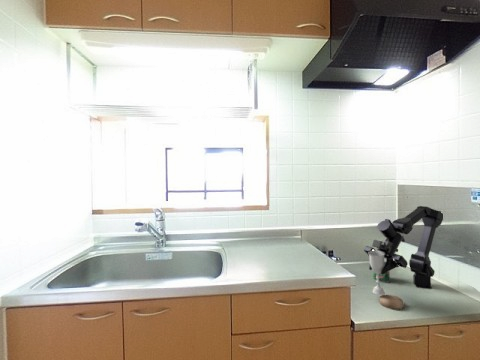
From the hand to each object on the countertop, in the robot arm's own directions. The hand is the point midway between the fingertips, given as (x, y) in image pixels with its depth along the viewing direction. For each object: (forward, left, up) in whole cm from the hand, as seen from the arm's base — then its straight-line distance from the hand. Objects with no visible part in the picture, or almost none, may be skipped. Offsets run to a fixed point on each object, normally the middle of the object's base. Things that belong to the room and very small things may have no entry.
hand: (375, 271), depth 120 cm
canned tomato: (-6, -26, -13) cm, 30 cm away
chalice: (-1, -1, -10) cm, 10 cm away
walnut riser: (-6, +2, -13) cm, 15 cm away
